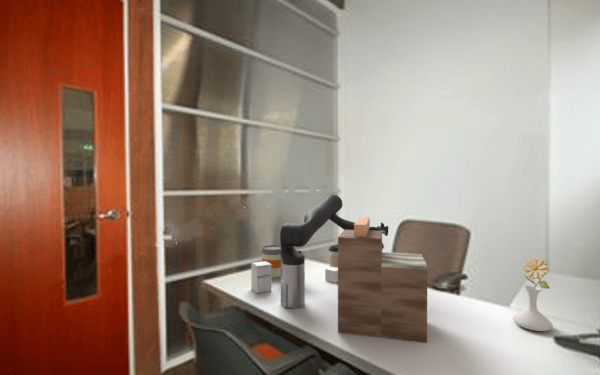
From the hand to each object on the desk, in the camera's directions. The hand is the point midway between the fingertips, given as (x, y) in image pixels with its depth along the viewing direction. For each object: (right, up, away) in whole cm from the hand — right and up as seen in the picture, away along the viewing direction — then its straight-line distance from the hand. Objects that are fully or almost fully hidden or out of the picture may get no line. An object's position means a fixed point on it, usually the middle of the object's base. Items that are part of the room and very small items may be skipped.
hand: (371, 224), depth 146 cm
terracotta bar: (-8, 0, -22) cm, 23 cm away
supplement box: (-49, -32, +10) cm, 59 cm away
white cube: (-14, -32, +25) cm, 43 cm away
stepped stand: (-3, -32, -29) cm, 43 cm away
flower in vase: (+49, -33, -31) cm, 67 cm away
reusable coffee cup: (-45, -31, +34) cm, 65 cm away
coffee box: (-35, -32, +19) cm, 51 cm away
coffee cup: (-11, -31, +39) cm, 51 cm away
